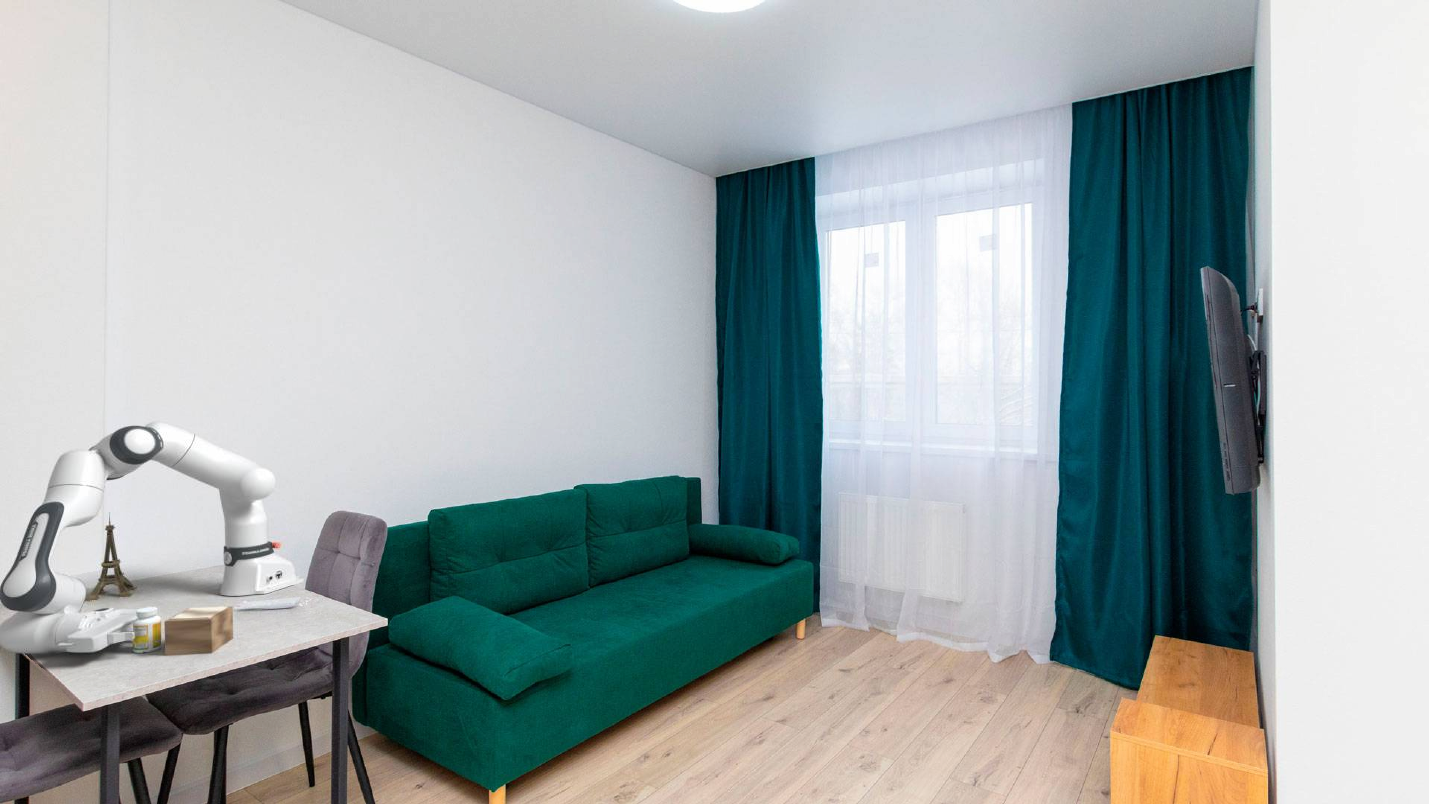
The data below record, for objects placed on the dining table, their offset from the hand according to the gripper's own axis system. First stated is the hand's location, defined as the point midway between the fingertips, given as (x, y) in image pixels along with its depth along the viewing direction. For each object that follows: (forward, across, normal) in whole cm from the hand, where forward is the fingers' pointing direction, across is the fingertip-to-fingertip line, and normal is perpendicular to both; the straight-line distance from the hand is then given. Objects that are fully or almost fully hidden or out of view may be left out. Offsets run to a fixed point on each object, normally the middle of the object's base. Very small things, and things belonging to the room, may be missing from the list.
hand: (147, 628), depth 175 cm
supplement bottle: (0, 0, +5) cm, 5 cm away
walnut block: (+11, 0, +5) cm, 12 cm away
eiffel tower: (-39, +51, +5) cm, 64 cm away
